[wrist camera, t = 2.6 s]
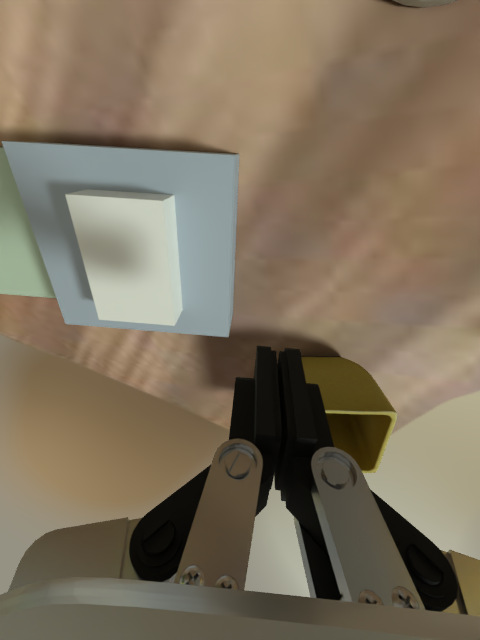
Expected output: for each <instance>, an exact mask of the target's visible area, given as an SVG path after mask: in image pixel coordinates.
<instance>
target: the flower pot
mask: <svg viewBox="0 0 480 640" xmlns="http://www.w3.org/2000/svg"><path fill="white" fill-rule="evenodd" d="M301 359H302V364H303V369H304V374H305V379H306V383H311V384H318V385H319V388H320V392H321V396H322V400H323V404H324V408H325V412H326V416H327V420H328V424H329V428H330V432H331V436H332V440H333V444H334V447H335V448H338V449H340V450H343V451H344V452H346V453H347V454H349V455H350V456H351V457H352V458H353V459H354V460H355V461H356V462H357V464H358V466H359V467H360V469H361V471H362V473H375V472H376V471H377V469H378V468H379V465H380V463H381V459H382V456H383V454H384V451H385V448H386V445H387V442H388V440H389V438H390V435H391V433H392V430H393V428H394V425H395V423H396V419H397V413H396V411H395V410H394V408H393V407H392V405H391V404H390V402H389V401H388V399H387V398H386V396H385V395H384V393H383V392H382V390H381V389H380V387H379V386H378V384H377V383H376V382H375V380H374V379H373V377H372V376H371V375H370V374H369V373H368V372H367V371H366V370H365V369H364V368H363V367H361V366H360V365H358V364H357V363H355V362H352V361H350V360H348V359H345V358H342V357H301Z"/></svg>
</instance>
